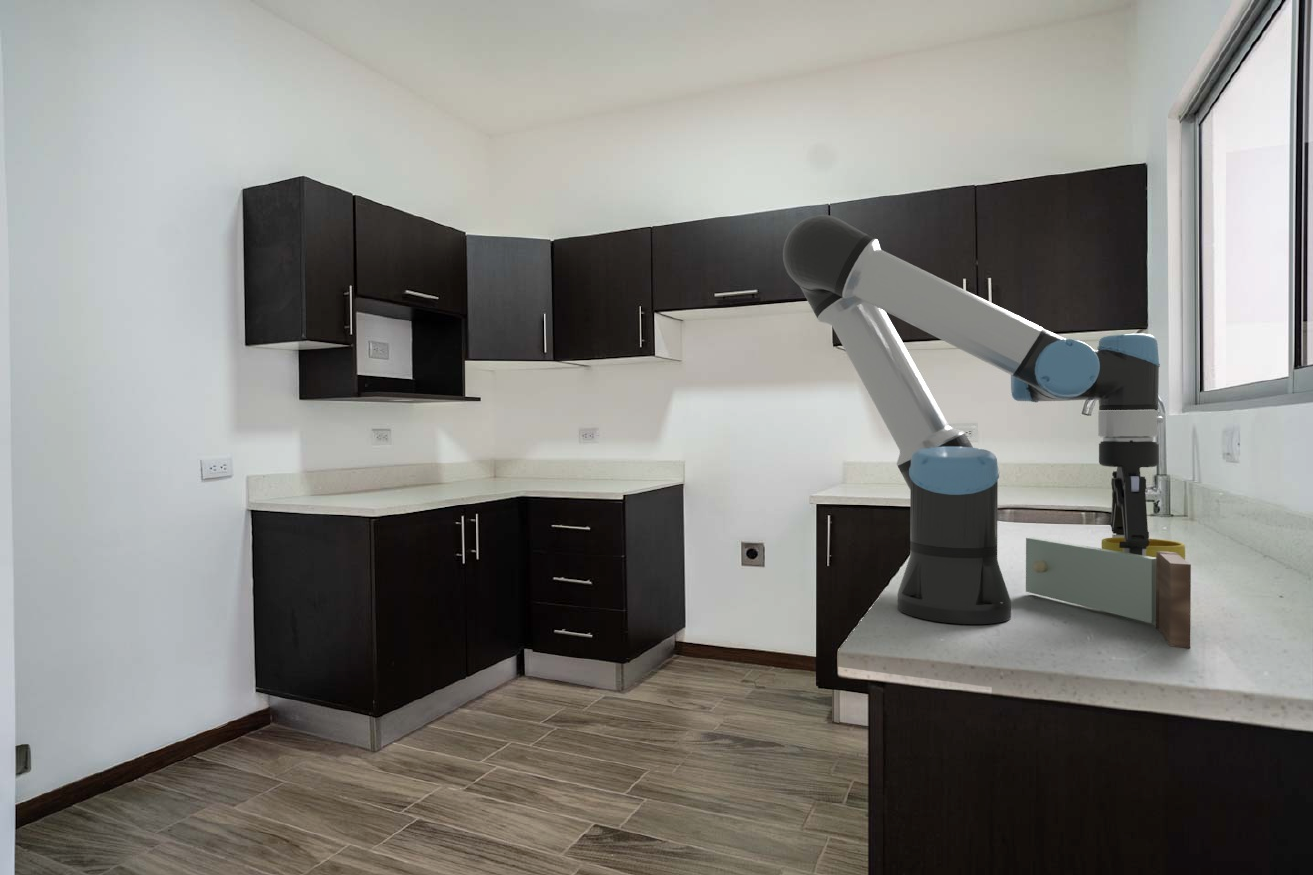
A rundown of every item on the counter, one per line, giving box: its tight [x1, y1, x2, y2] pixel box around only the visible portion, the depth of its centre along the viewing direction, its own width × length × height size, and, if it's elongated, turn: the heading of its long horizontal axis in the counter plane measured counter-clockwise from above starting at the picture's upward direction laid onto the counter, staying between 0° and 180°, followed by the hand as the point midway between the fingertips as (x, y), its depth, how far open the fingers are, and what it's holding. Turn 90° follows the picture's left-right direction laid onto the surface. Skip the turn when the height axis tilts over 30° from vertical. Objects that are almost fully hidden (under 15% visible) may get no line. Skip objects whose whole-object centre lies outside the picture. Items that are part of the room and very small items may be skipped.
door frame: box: [1148, 531, 1192, 649], centre depth 107 cm, size 2×36×10 cm, turn 155°
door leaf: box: [1025, 537, 1156, 624], centre depth 110 cm, size 3×21×8 cm, turn 20°
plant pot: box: [1101, 537, 1186, 560], centre depth 111 cm, size 10×10×10 cm
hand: (1128, 585), depth 112 cm, fingers open, 12 cm apart
